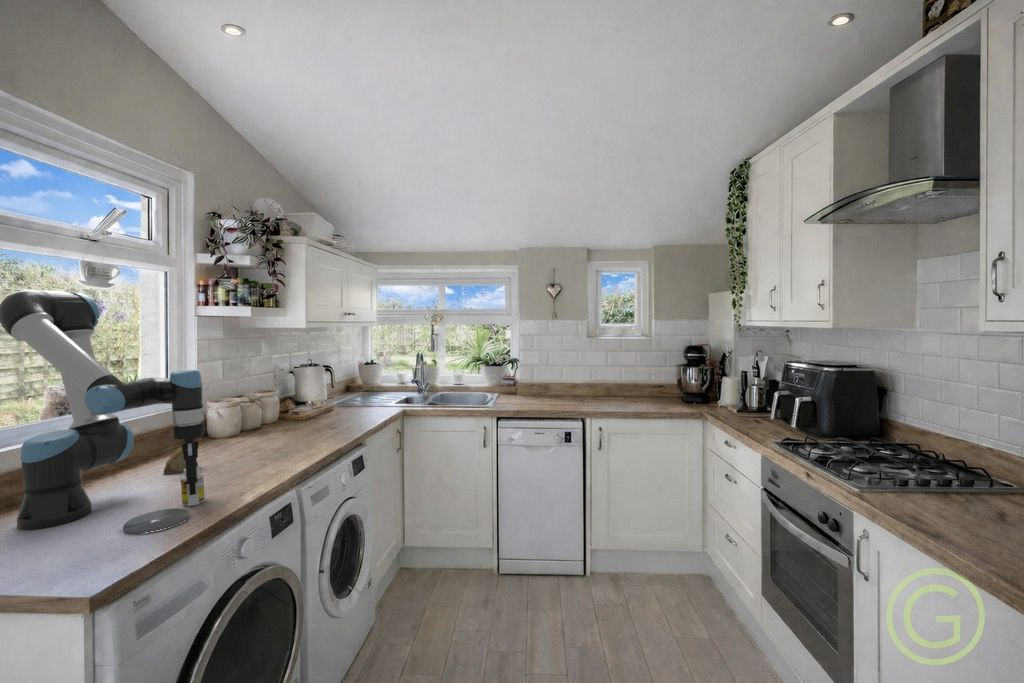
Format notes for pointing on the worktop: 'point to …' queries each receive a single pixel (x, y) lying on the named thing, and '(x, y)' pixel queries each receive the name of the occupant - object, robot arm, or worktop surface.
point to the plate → (155, 520)
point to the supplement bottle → (200, 487)
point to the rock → (176, 462)
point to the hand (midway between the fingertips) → (193, 501)
